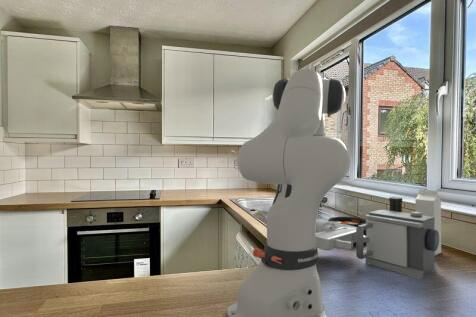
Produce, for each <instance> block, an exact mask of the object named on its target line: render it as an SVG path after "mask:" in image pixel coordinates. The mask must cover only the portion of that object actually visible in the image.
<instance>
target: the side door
mask: <svg viewBox="0 0 476 317" xmlns="http://www.w3.org/2000/svg"><path fill="white" fill-rule="evenodd" d="M365 220H366V224H363V225H359V226H358V227H357V228H356V244H355V247H356V248H355V251H356V254H355V256H356V258H357V259H360V260H364V259H366V258H367V257H370V258H374V259H378V260H381V261H385V262H388V263H392V264H396V265H399V266H403V267H407V226H406V225H400V224H394V223H388V222H383V221H377V220H371V219H365ZM365 229H366V236H368V237H370V242H369V243H366V251H364V243H363V230H365Z"/></svg>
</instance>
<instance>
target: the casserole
mask: <svg viewBox="0 0 476 317" xmlns="http://www.w3.org/2000/svg"><path fill="white" fill-rule="evenodd" d="M327 221H329V222H330V221H338V222H341V224H346V225H350V226H354V227H358V226H359V225H363V224H366V219H363V218H359V217H353V216H334V217H330V218H329V219H328V220H327ZM363 235H365V236H366V229H365V230H363ZM363 244H365V243H364V242H363ZM353 245H356V242H354V243H353Z"/></svg>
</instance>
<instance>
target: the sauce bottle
mask: <svg viewBox="0 0 476 317" xmlns="http://www.w3.org/2000/svg"><path fill="white" fill-rule="evenodd" d="M388 202H389V210H388V211H395V212H403V204H402V203H403V198H402V197H401V196H390V197H389V199H388Z"/></svg>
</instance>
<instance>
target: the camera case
mask: <svg viewBox="0 0 476 317" xmlns="http://www.w3.org/2000/svg"><path fill="white" fill-rule="evenodd" d="M364 218H365V219H364V220H366V219H371V220H377V221H383V222H388V223H394V224H400V225H406V226H407V267H403V266H399V265H396V264H392V263H388V262H385V261H381V260H378V259H374V258H370V257H367V258H365V264H367V265H371V266H374V267H378V268H381V269H384V270H387V271H391V272H393V273H397V274H400V275H401V274H402V275H405V276H408V277H411V278H415V279H418V280H421V279H423V278H424V277H426V276H428V275H430V274H431V273H433V272H434V271H436V270H435V269H436V268H435V266H436V265H435V264H436V263H435V258H436V255H435V251H436V250H437V248H438V245H439V233H438V231H437V230H434V217H431V216H424V215H422V213H421V212H416V211H410V213H409V212H403V211H402V212H395V211H389V210H387V209H378V210H375V211H374V210H373V211H369V212H368V214H366V215H365V217H364Z"/></svg>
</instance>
